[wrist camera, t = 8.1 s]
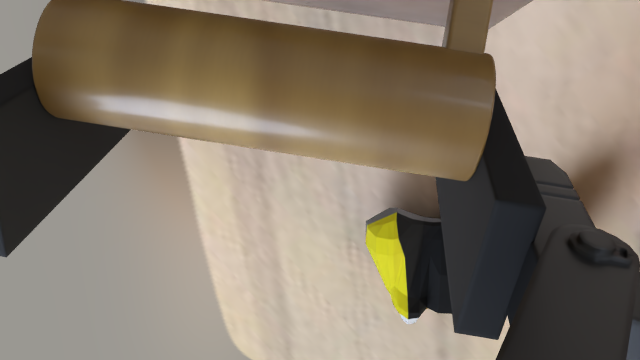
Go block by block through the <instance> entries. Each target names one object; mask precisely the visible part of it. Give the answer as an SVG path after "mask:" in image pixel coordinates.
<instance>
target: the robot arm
mask: <svg viewBox="0 0 640 360" xmlns="http://www.w3.org/2000/svg"><path fill="white" fill-rule="evenodd" d="M130 130H131V129H126V128H120V127H113V126H107V125H100V124H94V123H88V122H81V121H75V120H68V119H62V118H57V117H55V116H53V115H51V114H50V113H49V112H48V111H47V110H46V109H45V108H44V107H43V105H42V104H41V102H40V100H39V98H38V95H37V92H36V89H35V85H34V80H33V72H32V57H31V58H29V59H28V60H26V61H24V62H22V63H20V64H18V65H17V66H15V67H13V68H11V69H10V70H8V71H6V72H4V73H2V74H0V256H3V257H7V256H8V255H9V254H10V253H11V252H12V251H13V250H14V249H15V248H16V247H17V246H18V245H19V244H20V243H21V242H22V241H23V240H24V239H25V238H26V237H27V236H28V235H29V234H30V233H31V231H33V229H34V228H35V227H36V226H37V225H38V224H39V223H40V222H41V221H42V220H43V219H44V218H45V217H46V216H47V215H48V214H49V213H50V212H51V211H52V210H53V209H54V208H55V207H56V206H57V205H58V204H59V203H60V202H61V201H62V200H63V199H64V197H66V196H67V195H68V194H69V192H70V191H71V190H72V189H73V188H74V187H75V186H76V185H77V184H78V183H79V182H80V181H81V180H82V179H83V178H84V177H85V176H86V175H87V174H88V173H89V172H90V171H91V170H92V169H93V168H94V167H95V166H96V165H97V164H98V163H99V162H100V160H102V159H103V157H104V156H106V154H107V153H108V152H109V151H110V150H111V149H112V148H113V147H114V146H115V145H116V144H117V143H118V142H119V141H120V140H121V139H122V138H123V137H124V136H125V135H126V134H127V133H128V132H129V131H130ZM436 184H437V193H438V201H439V209H440V217H441V226H442V234H443V242H444V250H445V258H446V267H447V275H448V283H449V291H450V300H451V308H452V316H453V324H454V332H455V333H460V334H466V335H472V336H478V337H484V338H490V339H496V340H498V339H499V336H500V333H501V331H502V328H503V325H504V323H505V320H506V317H507V315H508V319H509V323H510V328H509V330H508V332H507V335H506V337H505V339H504V341H503V344H502V346H501V348H500V351H499V353H498V355H497V358H496V360H640V272H639V271H640V262H639V258H638V255H637V254H636V253H635V252H634V251H633V249H632V248H631V247H630V246H629V245H627V244H626V243H625V242H623V241H622V240H620V239H619V238H617V237H616V236H614V235H611V234H609V233H607V232H605V231H603V230H600V229H597V228H595V226H594V224H593V222H592V220H591V218H590V216H589V215H588V213H587V211H586V209H585V207H584V205H583V203H582V202H581V201H579V199H580V198H579V196H578V194H577V192H576V190H574V189H573V188H574V187H573V185H572V183H571V181H570V179H569V177H568V175H567V174H566V173H565V172H564V171H563V170H562V169H560V168H559V167H558V166H557V165H556V164H554V163H553V162H552V161H551V160H547V159H541V158H535V157H528V156H524V154H523V151H522V149H521V147H520V144H519V142H518V140H517V137H516V135H515V133H514V130H513V128H512V126H511V123H510V121H509V119H508V116H507V114H506V112H505V109H504V107H503V105H502V102H501V100H500V98H499V95H498V93H497V91H496V88H495V99H494V107H493V113H492V119H491V124H490V129H489V133H488V137H487V141H486V145H485V148H484V151H483V154H482V157H481V160H480V162H479V165H478V167H477V169H476V171H475V173H474V174H473V176H472V177H471V179H469V180H468V181H459V180H453V179H446V178H440V177H436Z"/></svg>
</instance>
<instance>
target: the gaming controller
mask: <svg viewBox="0 0 640 360" xmlns="http://www.w3.org/2000/svg"><path fill="white" fill-rule="evenodd" d="M366 245H367V247H368V249H369V252H370V254H371V256H372V258H373V260H374V262H375V264H376V267H377V269H378V271H379V273H380V275H381V277H382V280H383V282H384V284H385V286H386V288H387V290H388V291H389V293H390V295H391V298H392V302H393V305H394V306H395V308H396V309H397V311H398V312H399V313H400V315H401V318H402V319H403V320H404V321H405V322H406V323H407V324H412V323H415V322H416V321H417V319H418V318H419V317H420V315H421V314H422V313H423V312H424V310H425V309H427V308H429V309H431V310H433V311H435V312H437V313H450V314H452V308H451V300H450V291H449V283H448V275H447V267H446V258H445V250H444V242H443V234H442V226H441V219H438V218H428V217H422V216H419V215H416V214H413V213H410V212H408V211H405V210H402V209H399V208H389V209H387V210H385V211H383V212H381V213H380V214H378V215H376V216H374V217H373V218H371V219H369V220H367V221H366Z"/></svg>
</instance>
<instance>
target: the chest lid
mask: <svg viewBox="0 0 640 360" xmlns="http://www.w3.org/2000/svg"><path fill="white" fill-rule="evenodd" d="M264 1H271V2H278V3H285V4H291V5H298V6H305V7H312V8H319V9H326V10H333V11H340V12H347V13H354V14H361V15H367V16H374V17H381V18H388V19H395V20H402V21H409V22H416V23H423V24H430V25H437V26H443V27H445V32H444V37H443V43H442V47H439V46H432V45H425V44H419V43H412V42H405V41H398V40H391V39H384V38H378V37H371V36H364V35H357V34H350V33H343V32H337V31H330V30H323V29H316V28H309V27H302V26H296V25H289V24H282V23H275V22H268V21H261V20H255V19H248V18H241V17H234V16H227V15H220V14H214V13H207V12H200V11H193V10H186V9H179V8H173V7H166V6H159V5H152V4H145V3H138V2H131V1H125V0H51V1H50V2H49V3H48V4H47V6H46V8H45V9H44V11H43V13H42V15H41V17H40V19H39V22H38V25H37V28H36V32H35V36H34V42H33V49H32V72H33V80H34V85H35V89H36V92H37V95H38V98H39V100H40V102H41V104H42V105H43V107H44V108H45V109H46V110H47V111H48V112H49V113H50V114H51V115H53V116H55V117H57V118H62V119H68V120H75V121H81V122H88V123H94V124H100V125H107V126H113V127H120V128H126V129H133V130H139V131H146V132H152V133H158V134H164V135H171V136H177V137H184V138H190V139H196V140H203V141H209V142H216V143H222V144H228V145H235V146H241V147H248V148H254V149H260V150H267V151H273V152H280V153H286V154H292V155H299V156H305V157H312V158H318V159H324V160H331V161H337V162H344V163H350V164H356V165H363V166H369V167H376V168H382V169H388V170H395V171H401V172H408V173H414V174H420V175H427V176H433V177H440V178H446V179H453V180H459V181H468V180H469V179H471V177H472V176H473V174H474V173H475V171H476V169H477V167H478V165H479V162H480V160H481V157H482V154H483V151H484V148H485V145H486V141H487V137H488V133H489V129H490V124H491V119H492V113H493V107H494V99H495V87H496V71H495V63H494V59H493V57H492V56H491V55H490V54H487V53H484V50H485V44H486V39H487V33H488V29H490V28H491V27H493V26H494V25H496V24H497V23H499V22H500V21H502V20H504V19H505V18H507V17H508V16H510V15H511V14H513V13H514V12H516V11H517V10H519V9H521V8H522V7H524V6H525V5H527V4H528V3H530V2H531V1H533V0H264Z"/></svg>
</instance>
